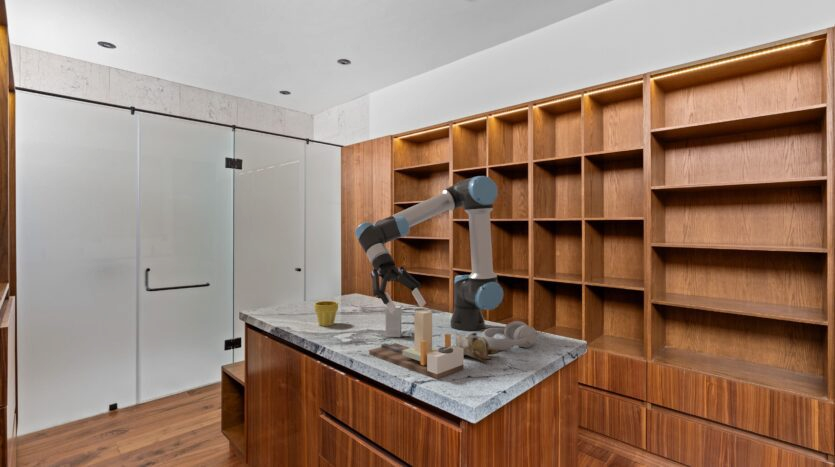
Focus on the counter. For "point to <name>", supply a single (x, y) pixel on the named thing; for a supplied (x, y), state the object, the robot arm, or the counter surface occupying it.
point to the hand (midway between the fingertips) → (409, 308)
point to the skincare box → (393, 322)
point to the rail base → (407, 360)
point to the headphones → (511, 336)
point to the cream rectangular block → (444, 359)
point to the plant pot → (326, 312)
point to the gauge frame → (424, 351)
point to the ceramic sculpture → (475, 347)
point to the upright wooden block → (421, 334)
